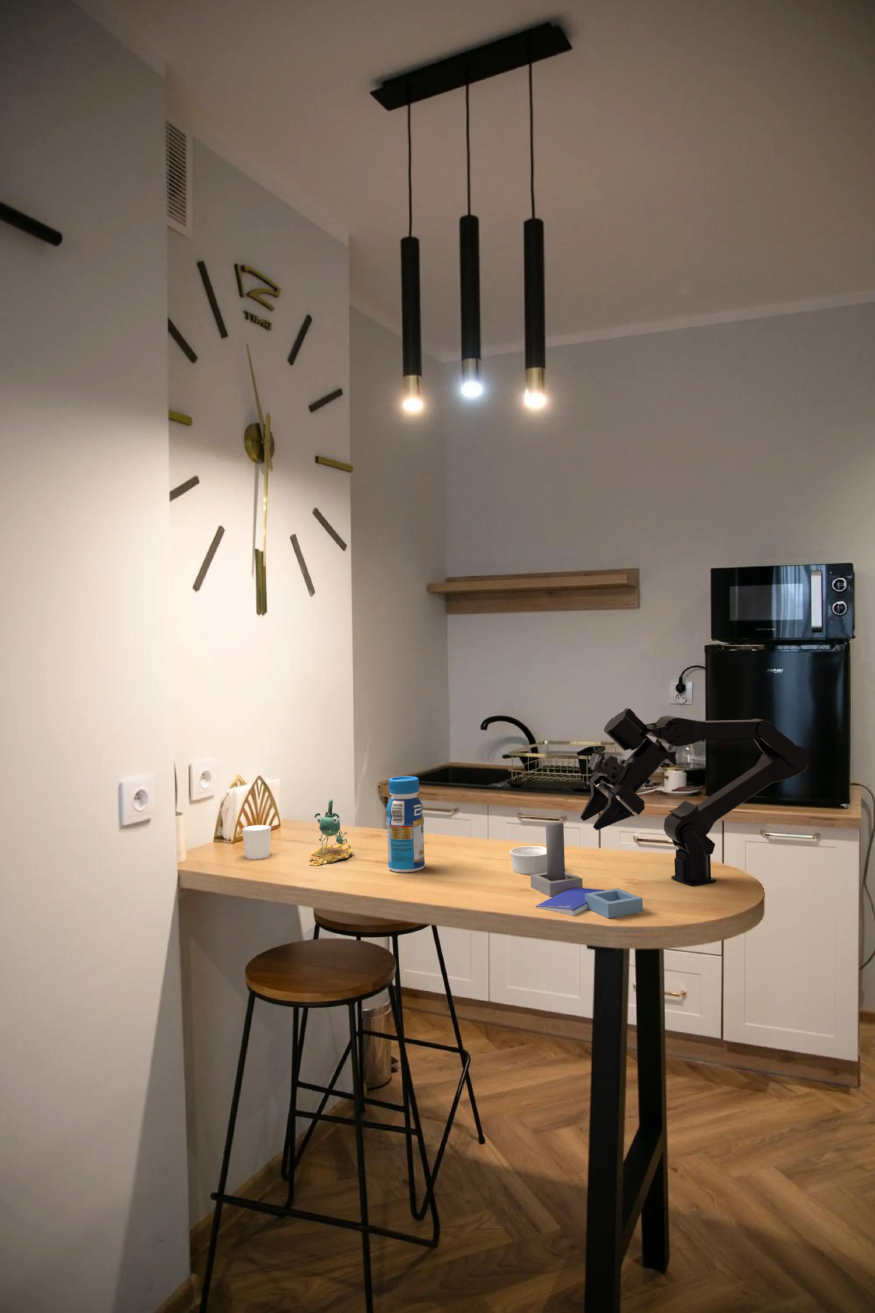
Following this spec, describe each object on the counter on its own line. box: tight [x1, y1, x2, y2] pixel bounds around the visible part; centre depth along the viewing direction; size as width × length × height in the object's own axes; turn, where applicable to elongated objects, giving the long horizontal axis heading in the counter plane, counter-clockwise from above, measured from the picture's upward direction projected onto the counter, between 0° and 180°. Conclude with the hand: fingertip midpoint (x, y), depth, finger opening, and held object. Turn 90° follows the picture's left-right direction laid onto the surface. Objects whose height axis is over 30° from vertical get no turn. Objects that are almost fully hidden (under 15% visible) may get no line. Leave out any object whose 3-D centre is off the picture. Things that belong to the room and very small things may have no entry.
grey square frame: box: [530, 870, 584, 897], centre depth 172 cm, size 7×7×2 cm
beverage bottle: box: [385, 775, 426, 873], centre depth 191 cm, size 8×8×20 cm
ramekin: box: [509, 845, 547, 876], centre depth 187 cm, size 9×9×4 cm
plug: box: [545, 821, 566, 881], centre depth 171 cm, size 4×4×13 cm
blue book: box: [535, 887, 606, 917], centre depth 162 cm, size 2×8×12 cm
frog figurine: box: [309, 799, 354, 867], centre depth 204 cm, size 10×18×15 cm, turn 155°
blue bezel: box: [585, 888, 644, 919], centre depth 157 cm, size 7×7×2 cm
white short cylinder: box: [241, 824, 272, 860], centre depth 207 cm, size 7×7×7 cm
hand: (588, 824), depth 172 cm, fingers open, 9 cm apart
